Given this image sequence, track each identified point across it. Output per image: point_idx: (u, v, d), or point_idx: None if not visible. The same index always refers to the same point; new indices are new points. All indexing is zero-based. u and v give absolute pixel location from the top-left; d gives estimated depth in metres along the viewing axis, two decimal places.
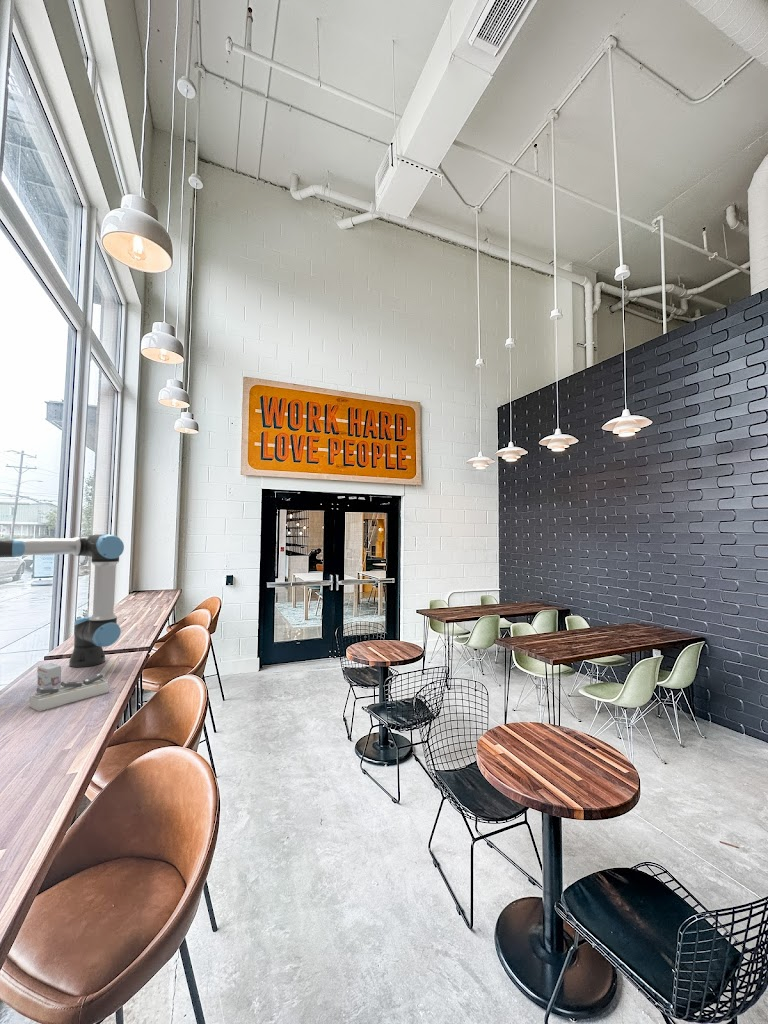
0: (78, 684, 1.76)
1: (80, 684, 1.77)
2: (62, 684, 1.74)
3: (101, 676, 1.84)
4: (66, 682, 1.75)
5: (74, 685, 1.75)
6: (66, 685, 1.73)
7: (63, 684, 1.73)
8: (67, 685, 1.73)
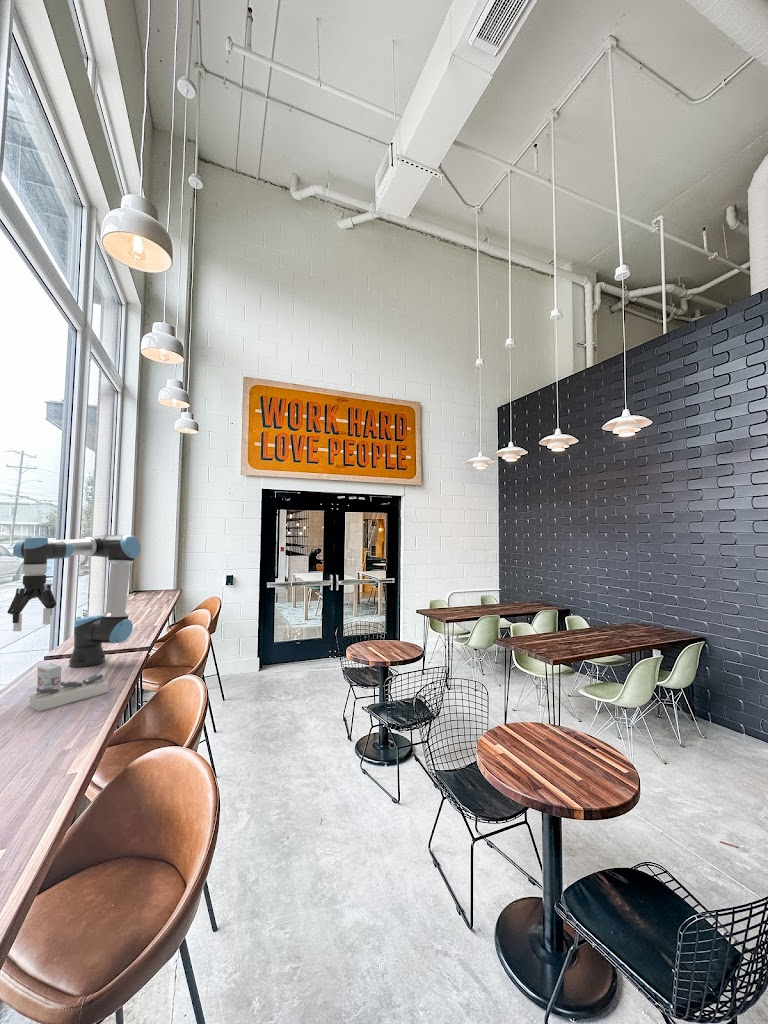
0: (78, 684, 1.76)
1: (80, 684, 1.77)
2: (62, 684, 1.74)
3: (101, 676, 1.84)
4: (66, 682, 1.75)
5: (74, 685, 1.75)
6: (66, 685, 1.73)
7: (63, 684, 1.73)
8: (67, 685, 1.73)
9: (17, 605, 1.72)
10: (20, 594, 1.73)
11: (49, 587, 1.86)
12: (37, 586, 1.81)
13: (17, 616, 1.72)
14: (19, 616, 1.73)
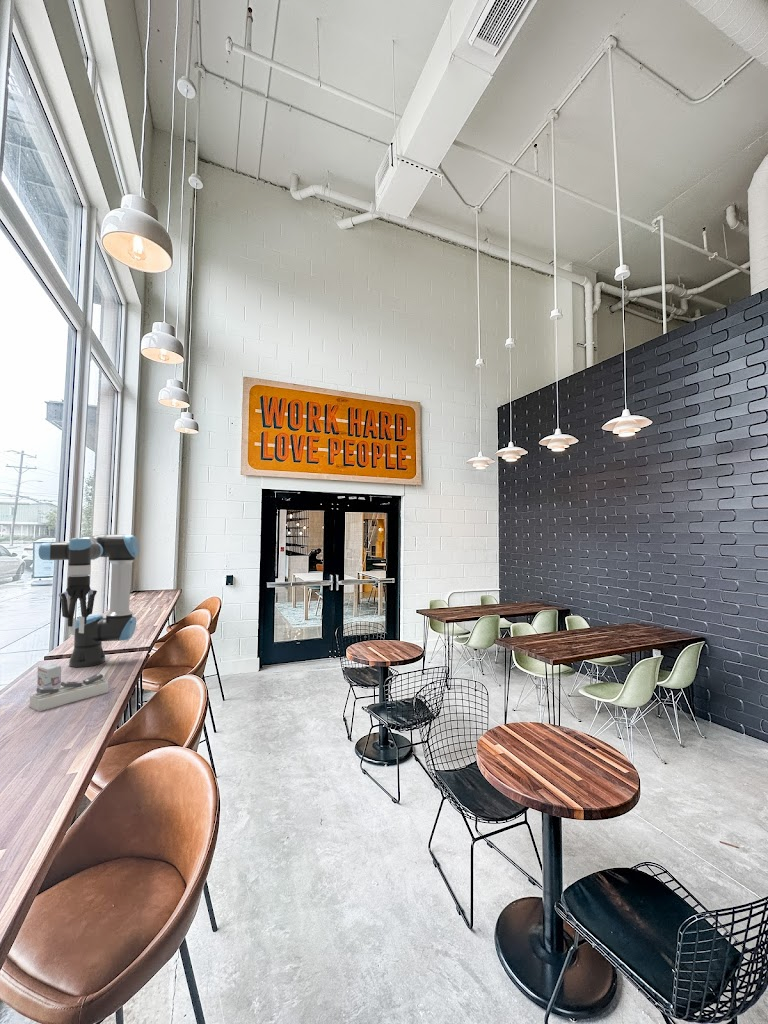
0: (78, 684, 1.76)
1: (80, 684, 1.77)
2: (62, 684, 1.74)
3: (101, 676, 1.84)
4: (66, 682, 1.75)
5: (74, 685, 1.75)
6: (66, 685, 1.73)
7: (63, 684, 1.73)
8: (67, 685, 1.73)
9: (65, 609, 1.77)
10: (63, 599, 1.77)
11: (94, 592, 1.86)
12: (80, 587, 1.82)
13: (71, 620, 1.79)
14: (72, 620, 1.80)
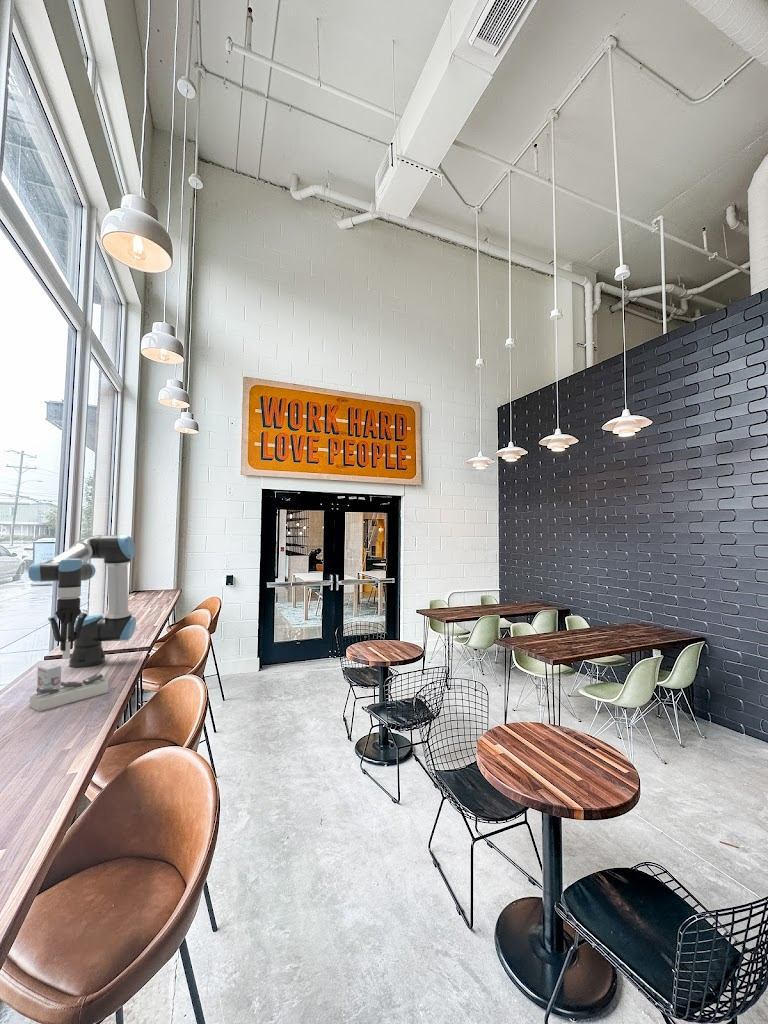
0: (78, 684, 1.76)
1: (80, 684, 1.77)
2: (62, 684, 1.74)
3: (101, 676, 1.84)
4: (66, 682, 1.75)
5: (74, 685, 1.75)
6: (66, 685, 1.73)
7: (63, 684, 1.73)
8: (67, 685, 1.73)
9: (57, 633, 1.72)
10: (53, 623, 1.71)
11: (84, 616, 1.80)
12: (70, 610, 1.76)
13: (63, 644, 1.74)
14: (65, 644, 1.74)
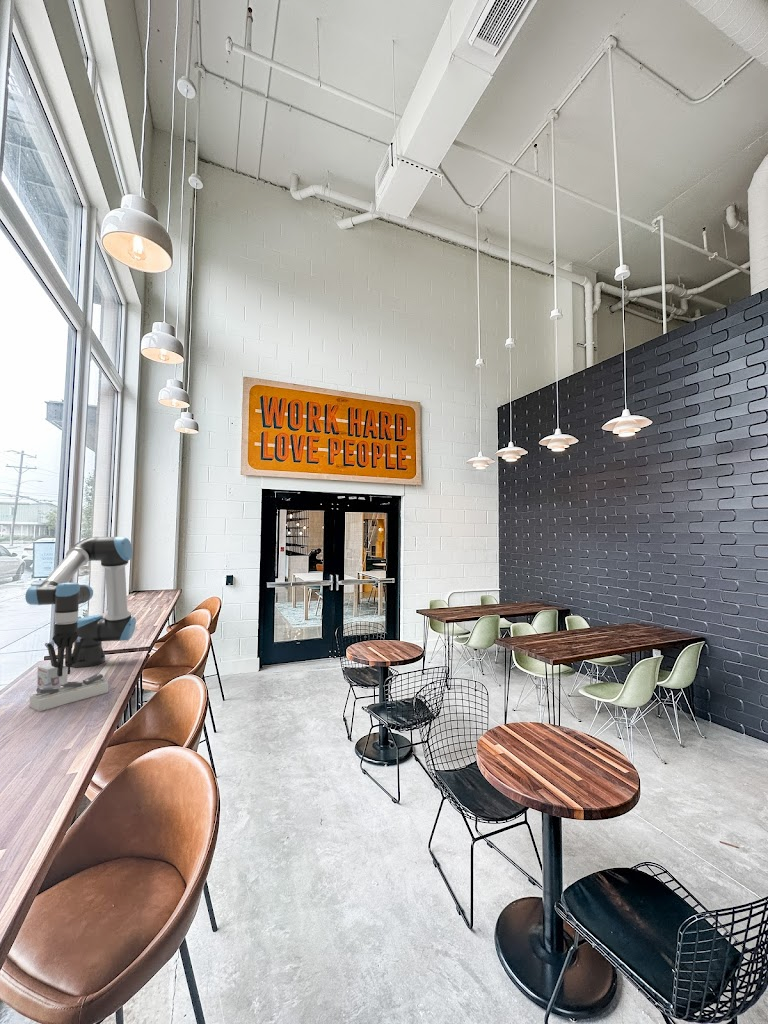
0: (78, 684, 1.76)
1: (80, 684, 1.77)
2: None
3: (101, 676, 1.84)
4: None
5: (74, 685, 1.75)
6: (66, 685, 1.73)
7: None
8: (67, 685, 1.73)
9: (54, 659, 1.70)
10: (50, 649, 1.70)
11: (81, 640, 1.78)
12: (67, 635, 1.74)
13: (60, 669, 1.72)
14: (62, 669, 1.73)
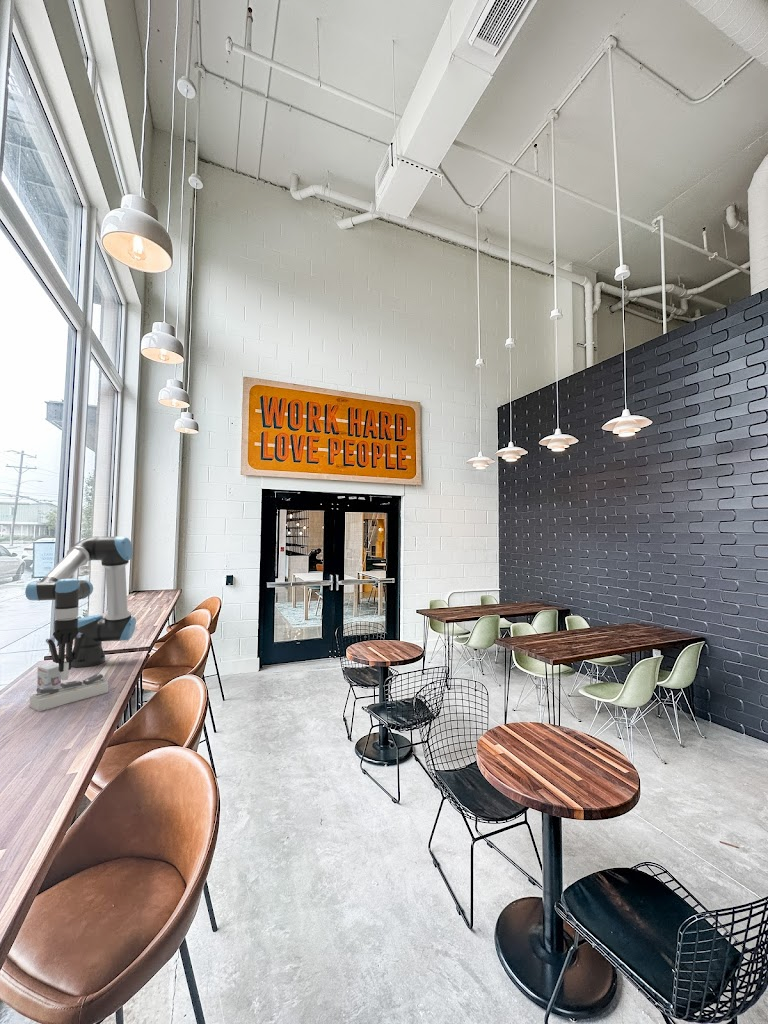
0: (78, 683, 1.76)
1: (80, 683, 1.77)
2: (62, 685, 1.74)
3: (101, 676, 1.84)
4: (65, 683, 1.75)
5: (74, 685, 1.75)
6: (66, 686, 1.73)
7: (63, 685, 1.73)
8: (67, 686, 1.73)
9: (55, 655, 1.71)
10: (51, 645, 1.70)
11: (82, 636, 1.79)
12: (68, 631, 1.75)
13: (61, 665, 1.73)
14: (63, 665, 1.73)
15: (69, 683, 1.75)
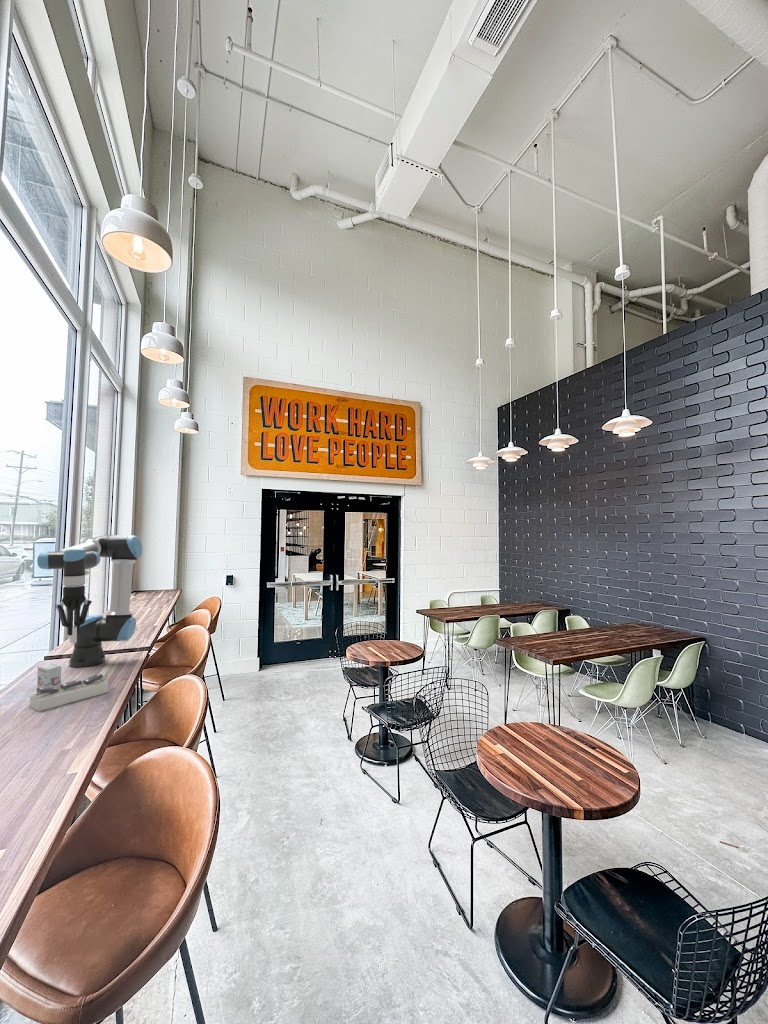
0: (78, 683, 1.76)
1: (80, 682, 1.77)
2: (61, 687, 1.74)
3: (101, 676, 1.84)
4: (65, 684, 1.74)
5: (74, 685, 1.75)
6: (65, 687, 1.73)
7: (62, 687, 1.73)
8: (67, 687, 1.73)
9: (64, 619, 1.82)
10: (60, 610, 1.81)
11: (89, 602, 1.90)
12: (76, 597, 1.86)
13: (70, 629, 1.84)
14: (72, 629, 1.85)
15: (69, 683, 1.75)
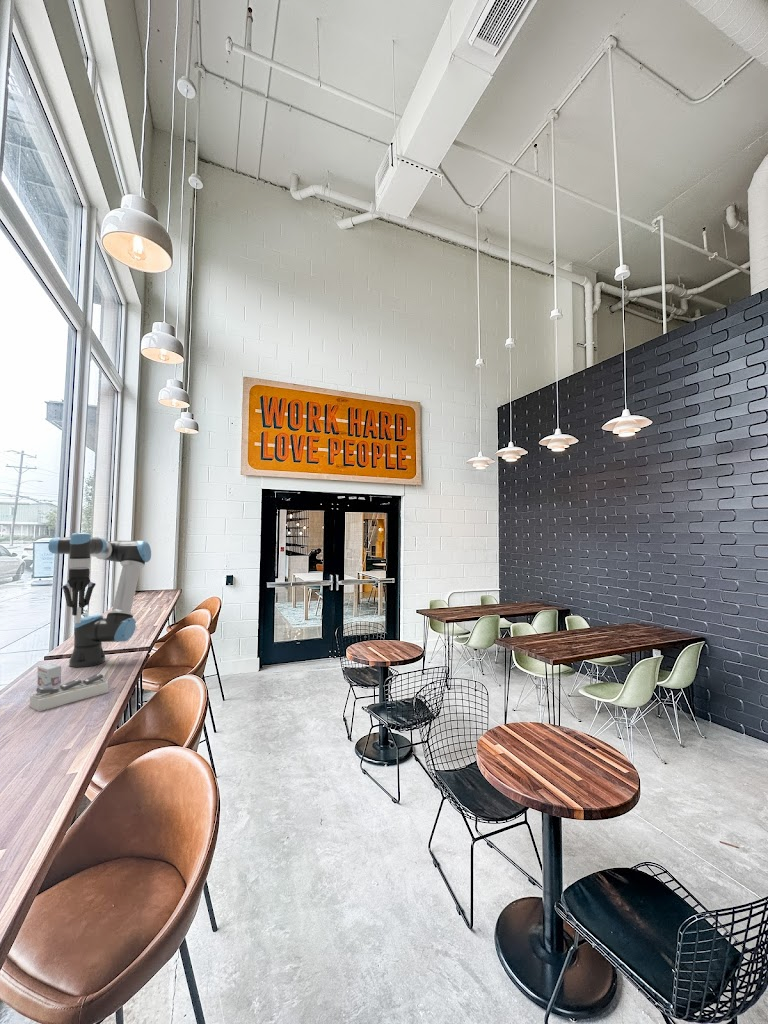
0: (77, 682, 1.76)
1: (80, 681, 1.77)
2: (61, 688, 1.74)
3: (101, 676, 1.84)
4: (65, 685, 1.74)
5: (74, 685, 1.75)
6: (65, 688, 1.73)
7: (62, 688, 1.73)
8: (67, 688, 1.73)
9: (69, 600, 1.91)
10: (65, 591, 1.90)
11: (93, 585, 1.99)
12: (81, 579, 1.95)
13: (75, 609, 1.93)
14: (77, 609, 1.93)
15: (68, 684, 1.75)
